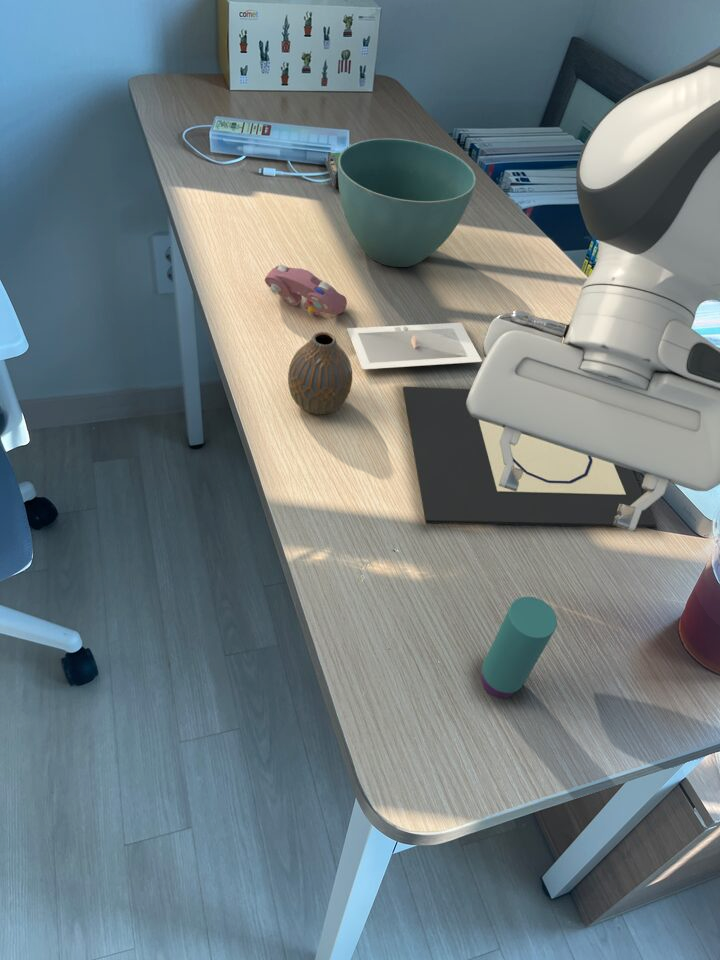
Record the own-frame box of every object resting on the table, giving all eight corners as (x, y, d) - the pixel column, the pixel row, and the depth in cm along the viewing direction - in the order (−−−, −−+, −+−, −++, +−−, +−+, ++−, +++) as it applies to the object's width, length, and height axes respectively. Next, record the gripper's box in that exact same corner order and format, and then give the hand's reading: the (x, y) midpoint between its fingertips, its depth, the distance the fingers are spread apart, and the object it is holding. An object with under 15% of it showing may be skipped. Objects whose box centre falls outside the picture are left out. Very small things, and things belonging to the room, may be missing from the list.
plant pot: (304, 235, 108) (311, 150, 99) (402, 209, 117) (415, 128, 108) (383, 301, 99) (397, 214, 90) (481, 267, 108) (504, 185, 99)
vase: (277, 412, 82) (280, 348, 76) (299, 375, 87) (304, 311, 80) (337, 431, 81) (345, 367, 75) (356, 392, 86) (365, 329, 80)
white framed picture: (480, 368, 92) (484, 354, 90) (361, 376, 88) (363, 361, 86) (459, 329, 97) (462, 315, 95) (345, 335, 93) (347, 321, 91)
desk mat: (599, 397, 91) (600, 394, 90) (654, 527, 77) (657, 524, 77) (402, 388, 87) (403, 385, 87) (425, 522, 74) (426, 519, 74)
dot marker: (515, 662, 65) (550, 596, 57) (524, 701, 62) (562, 638, 55) (474, 662, 64) (504, 596, 57) (482, 702, 62) (514, 638, 54)
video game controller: (268, 306, 98) (255, 274, 91) (285, 278, 99) (274, 245, 92) (334, 334, 95) (326, 304, 89) (351, 305, 97) (344, 273, 90)
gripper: (497, 293, 58) (437, 464, 58) (768, 375, 55) (703, 555, 55) (495, 312, 64) (441, 466, 65) (738, 386, 61) (680, 548, 62)
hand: (564, 508), depth 60 cm, fingers open, 8 cm apart
